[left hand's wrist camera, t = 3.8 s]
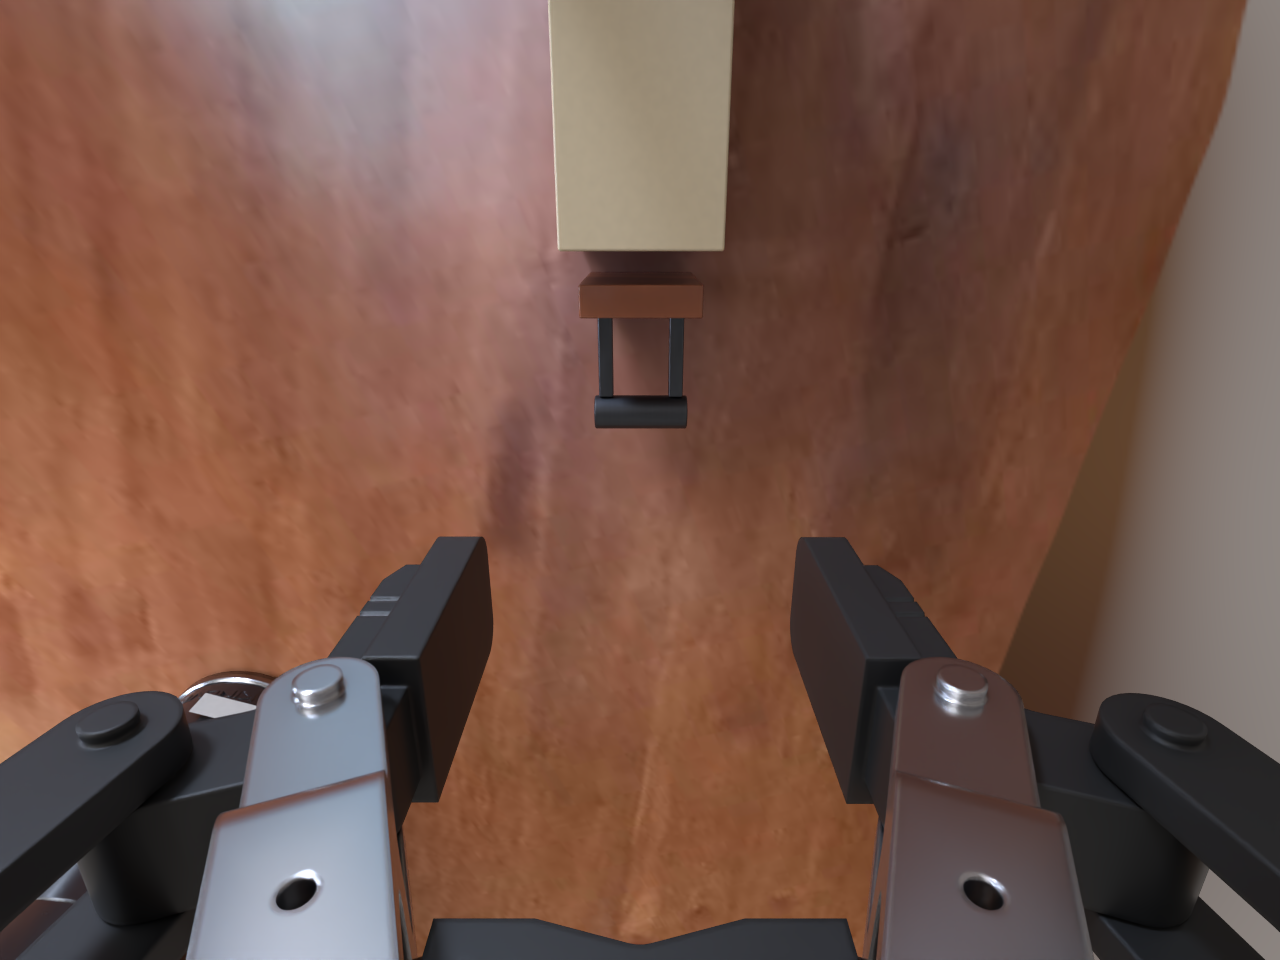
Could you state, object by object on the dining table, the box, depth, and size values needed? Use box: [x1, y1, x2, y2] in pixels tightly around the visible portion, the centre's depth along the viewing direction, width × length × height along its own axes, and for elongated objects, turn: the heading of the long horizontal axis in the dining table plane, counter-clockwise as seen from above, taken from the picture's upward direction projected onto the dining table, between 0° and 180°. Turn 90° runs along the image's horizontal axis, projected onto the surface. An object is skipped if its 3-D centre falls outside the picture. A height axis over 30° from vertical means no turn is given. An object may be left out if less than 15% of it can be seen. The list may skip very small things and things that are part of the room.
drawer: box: [578, 272, 704, 428], centre depth 26 cm, size 25×5×6 cm, turn 0°
